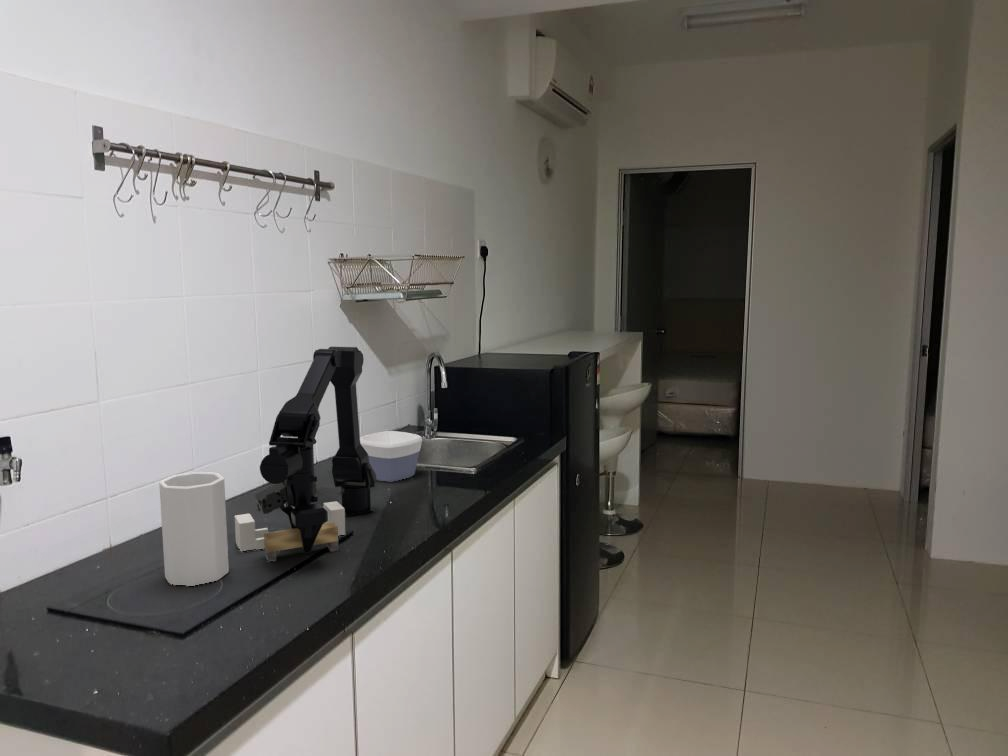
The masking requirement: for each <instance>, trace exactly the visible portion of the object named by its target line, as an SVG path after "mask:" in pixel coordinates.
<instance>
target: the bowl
mask: <svg viewBox="0 0 1008 756" xmlns="http://www.w3.org/2000/svg"><path fill="white" fill-rule="evenodd" d="M422 443H423V437H422V436H421V435H419V434H415V433H412V432H411V433H410V432H406V431H396V430H387V431H380V432H375V433H374V432H373V433H370V434H367V435H363V436H360V444H361V445H362V447H363V448H364V449H365V451H366V452H367V453H368V457H369V463H370V464H371V466H372V468H373V470H374V472H375V474H376V481H380V482H385V481H386V483H393V482H394V481H395V482H400V481H403V480H402V479H404V480H407V479H410V478H411V477H413V476H415V473H416V469H417V465H418V460H419V457H420V451H421V447H422ZM406 478H407V479H406ZM399 480H400V481H399Z"/></svg>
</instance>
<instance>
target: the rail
mask: <svg viewBox="0 0 1008 756" xmlns="http://www.w3.org/2000/svg"><path fill="white" fill-rule="evenodd" d="M268 532H269V533H264V544H265V549H264V558H265V557H266V558H265V559H267V560H268V561H271V560H276V561H277V552H279V551H286V550H291V549H297V548H303V546H302V541H301V536H300V531H299V529H298V528H295V529H291V528H290V529H289V528H288V529H284V530H283V529H281V530H276V531H268ZM321 544H322V545H323V544H326V548H327V547H328V548H327V550H329V552H332V553H333V552H337V551H339V549H340V548H339V537H338V526H337V525H336V524H335V523H327V524H323V525H322V527H321V529H320V531H319V533H318V535H317V537H316V540H315V542H314V544H313V546H316V545H317V546H318V545H321ZM267 560H266V561H267ZM268 561H267V562H268Z"/></svg>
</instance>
